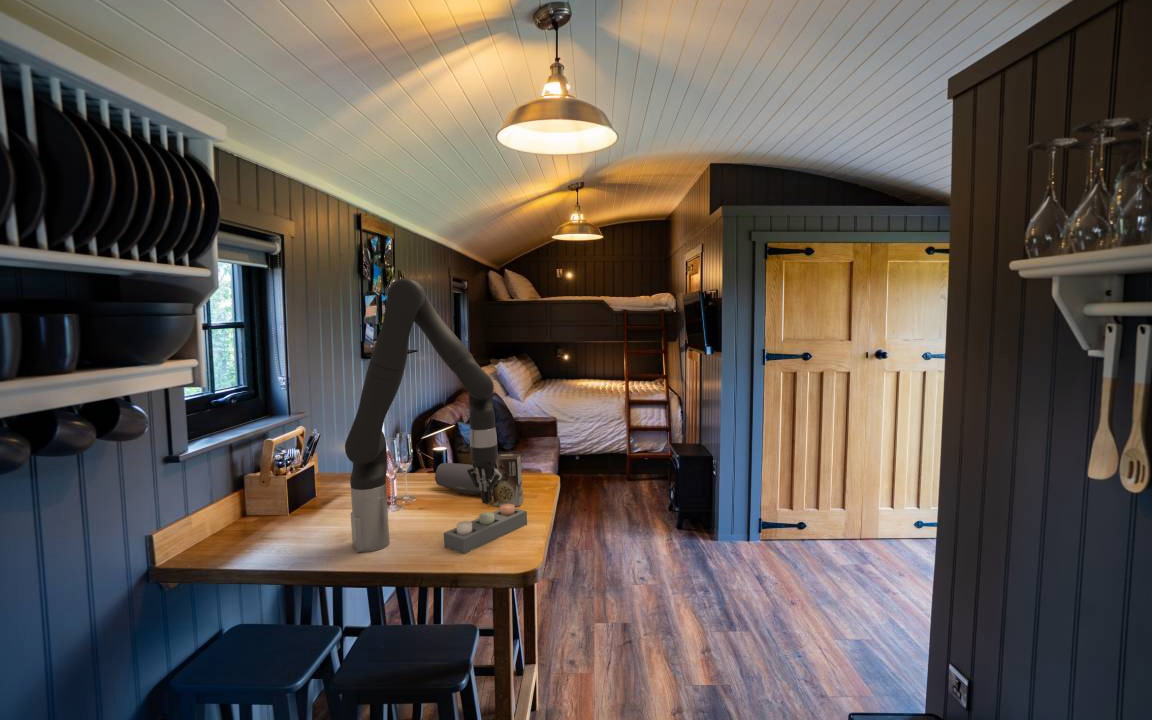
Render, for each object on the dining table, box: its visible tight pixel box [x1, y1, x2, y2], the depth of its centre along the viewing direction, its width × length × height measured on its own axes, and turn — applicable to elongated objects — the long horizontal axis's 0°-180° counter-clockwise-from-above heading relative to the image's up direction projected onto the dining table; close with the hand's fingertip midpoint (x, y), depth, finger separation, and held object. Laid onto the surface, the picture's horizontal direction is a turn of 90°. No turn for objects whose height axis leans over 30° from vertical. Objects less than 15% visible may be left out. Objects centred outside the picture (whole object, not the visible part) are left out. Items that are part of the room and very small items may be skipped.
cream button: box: [456, 520, 472, 536], centre depth 155 cm, size 4×4×3 cm
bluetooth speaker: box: [434, 462, 493, 495], centre depth 202 cm, size 23×9×10 cm, turn 64°
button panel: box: [443, 507, 528, 554], centre depth 162 cm, size 25×8×4 cm, turn 143°
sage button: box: [478, 511, 495, 526], centre depth 162 cm, size 4×4×3 cm
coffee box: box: [492, 453, 524, 507], centre depth 189 cm, size 9×6×16 cm
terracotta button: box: [499, 504, 516, 517], centre depth 169 cm, size 4×4×3 cm
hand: (486, 502), depth 162 cm, fingers closed
